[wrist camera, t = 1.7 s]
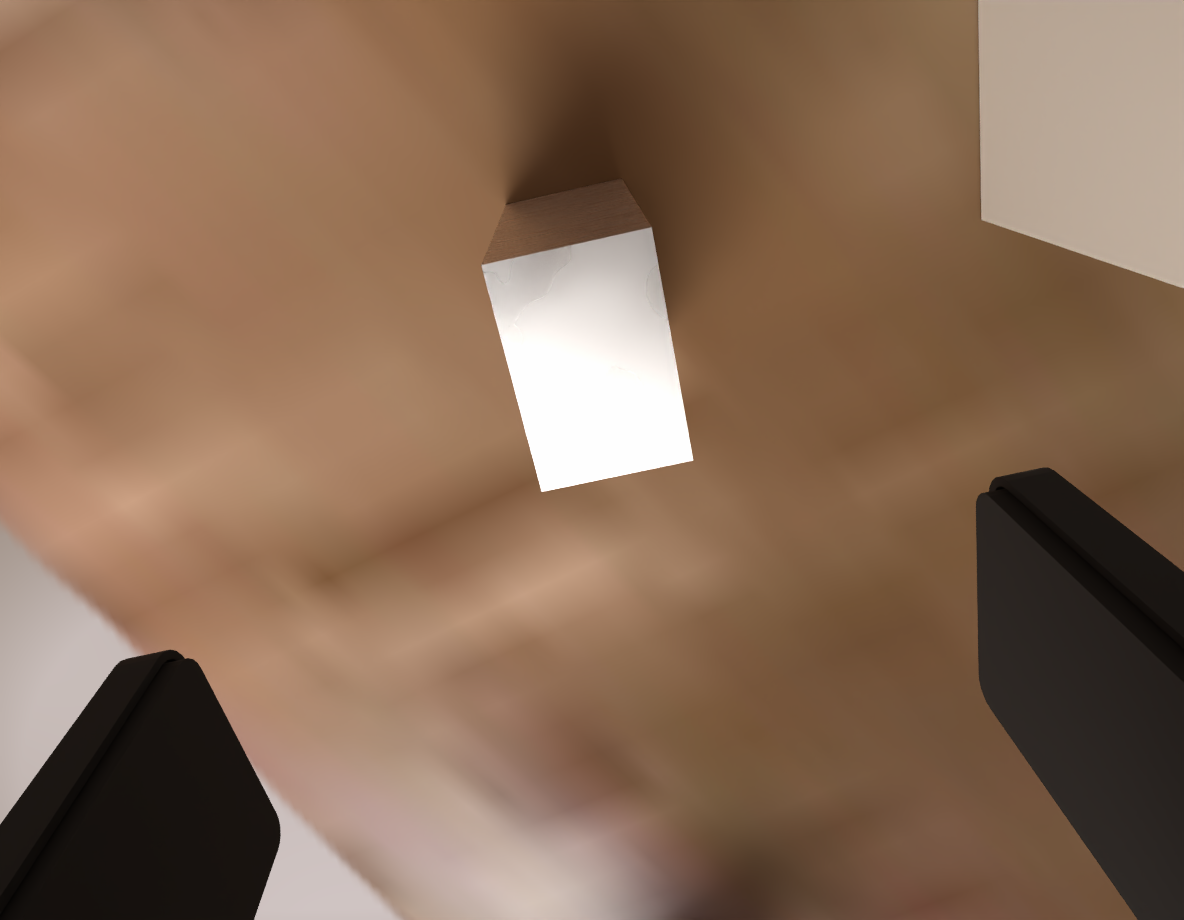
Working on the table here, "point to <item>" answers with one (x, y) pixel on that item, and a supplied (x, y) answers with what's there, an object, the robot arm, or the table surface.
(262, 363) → the table surface
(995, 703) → the robot arm
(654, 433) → the white rectangular block
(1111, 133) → the white box with slot
